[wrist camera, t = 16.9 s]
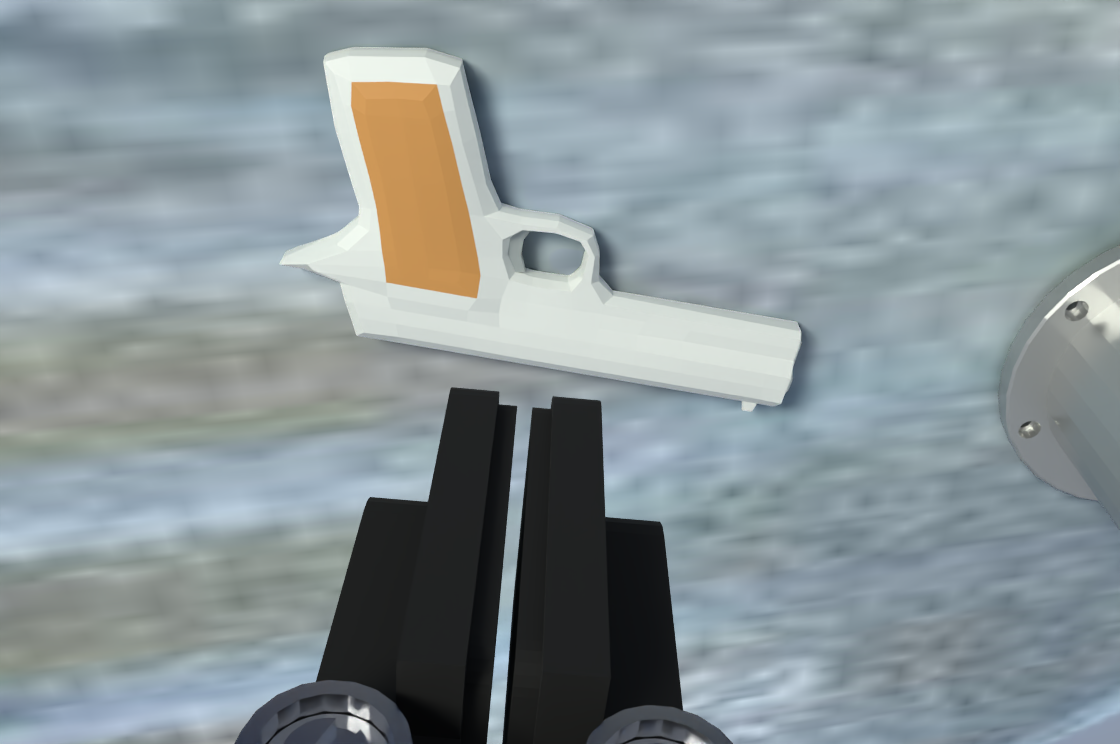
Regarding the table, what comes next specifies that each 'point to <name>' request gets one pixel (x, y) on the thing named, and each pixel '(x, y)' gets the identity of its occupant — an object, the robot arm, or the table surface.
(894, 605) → the table surface
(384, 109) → the pistol
